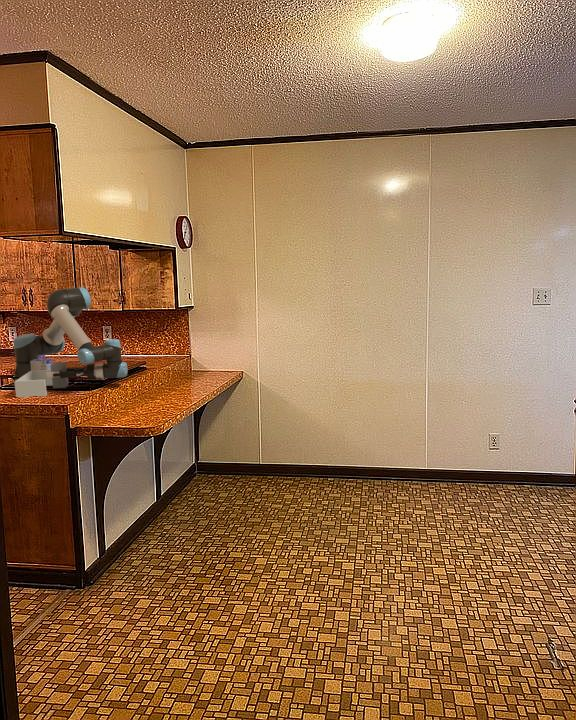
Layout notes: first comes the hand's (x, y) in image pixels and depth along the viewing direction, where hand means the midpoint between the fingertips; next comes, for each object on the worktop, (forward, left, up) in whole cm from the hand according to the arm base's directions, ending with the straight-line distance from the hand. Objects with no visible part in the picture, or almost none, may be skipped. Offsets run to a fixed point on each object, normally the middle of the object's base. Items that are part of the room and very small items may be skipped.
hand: (49, 373), depth 315 cm
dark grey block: (0, +5, -7) cm, 9 cm away
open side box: (0, -6, -9) cm, 10 cm away
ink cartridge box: (-20, -10, -9) cm, 24 cm away
